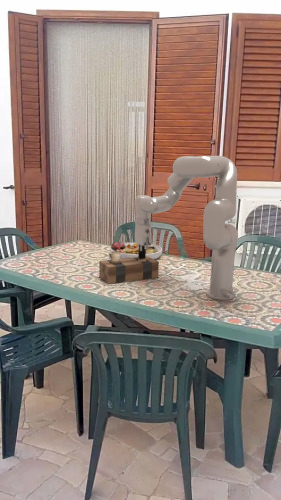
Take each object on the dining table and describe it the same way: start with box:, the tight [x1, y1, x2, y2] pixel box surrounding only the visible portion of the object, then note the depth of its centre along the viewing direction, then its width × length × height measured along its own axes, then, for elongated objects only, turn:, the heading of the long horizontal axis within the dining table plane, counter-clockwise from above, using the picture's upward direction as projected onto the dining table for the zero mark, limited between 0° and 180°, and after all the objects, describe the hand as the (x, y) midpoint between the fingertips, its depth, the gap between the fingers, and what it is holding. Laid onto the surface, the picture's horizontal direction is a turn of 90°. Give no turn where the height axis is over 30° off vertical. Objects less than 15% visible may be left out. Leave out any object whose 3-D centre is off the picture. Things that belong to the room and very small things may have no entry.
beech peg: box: [111, 251, 120, 265], centre depth 214 cm, size 4×4×8 cm
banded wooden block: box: [98, 256, 160, 285], centre depth 218 cm, size 12×26×8 cm, turn 116°
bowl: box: [109, 241, 163, 260], centre depth 259 cm, size 30×30×8 cm
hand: (141, 258), depth 220 cm, fingers closed
